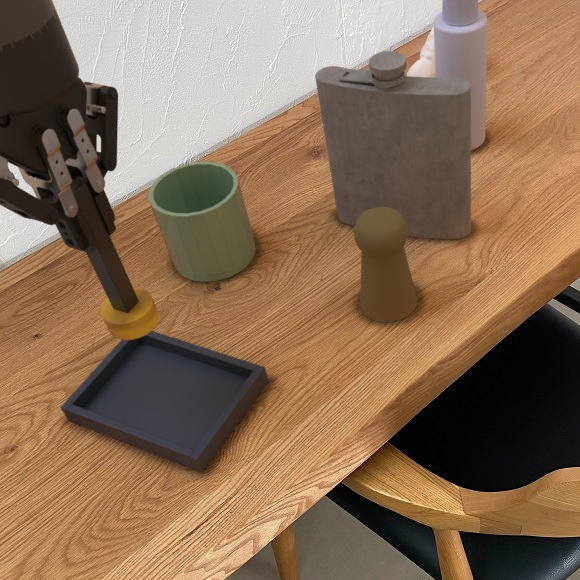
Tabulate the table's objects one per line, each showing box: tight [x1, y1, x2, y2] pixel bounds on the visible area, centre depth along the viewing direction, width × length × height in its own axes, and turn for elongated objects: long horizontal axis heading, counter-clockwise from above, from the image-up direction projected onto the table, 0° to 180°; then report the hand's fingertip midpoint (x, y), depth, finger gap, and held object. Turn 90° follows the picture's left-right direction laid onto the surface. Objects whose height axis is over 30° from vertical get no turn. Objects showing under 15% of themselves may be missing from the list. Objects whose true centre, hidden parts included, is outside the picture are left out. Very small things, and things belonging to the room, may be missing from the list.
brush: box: [70, 179, 160, 341], centre depth 63 cm, size 4×4×14 cm
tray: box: [59, 330, 270, 473], centre depth 76 cm, size 16×12×2 cm
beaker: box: [148, 161, 257, 283], centre depth 87 cm, size 9×9×9 cm
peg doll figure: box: [353, 207, 418, 323], centre depth 79 cm, size 6×6×11 cm
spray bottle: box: [433, 0, 488, 151], centre depth 93 cm, size 6×6×22 cm
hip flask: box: [314, 50, 472, 240], centre depth 84 cm, size 16×4×20 cm, turn 73°
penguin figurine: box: [406, 25, 436, 78], centre depth 107 cm, size 6×8×12 cm
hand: (94, 239), depth 62 cm, fingers closed on brush
